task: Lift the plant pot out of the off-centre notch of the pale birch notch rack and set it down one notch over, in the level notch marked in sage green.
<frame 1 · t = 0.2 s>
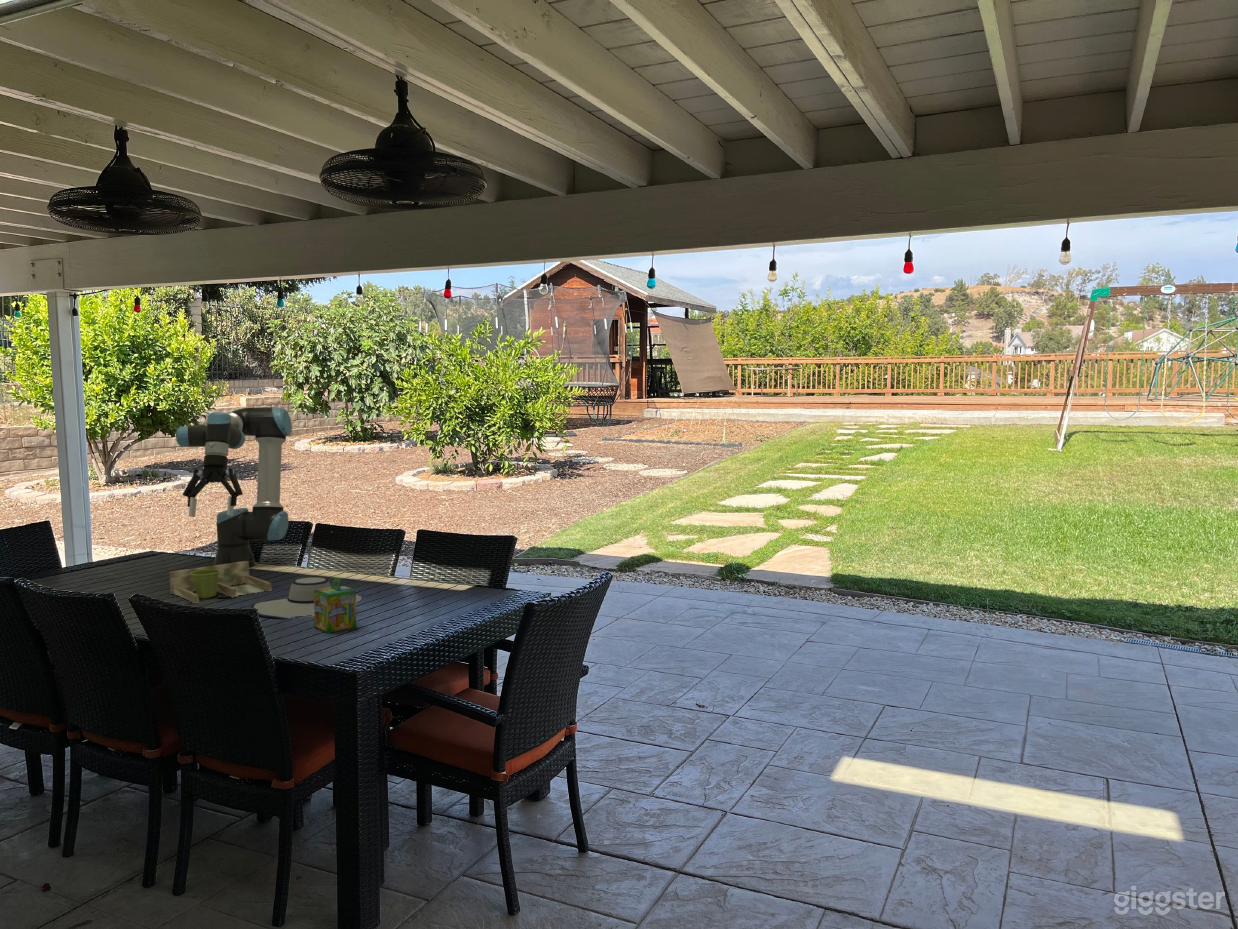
hand: (210, 516, 297), 27 cm above the table, tool tilted 15°, fingers open, 13 cm apart
plant pot: (206, 597, 296), resting in notch rack
chalk box: (335, 628, 255), on the table
notch rack: (224, 593, 300), on the table
sun hat: (311, 607, 283), on the table
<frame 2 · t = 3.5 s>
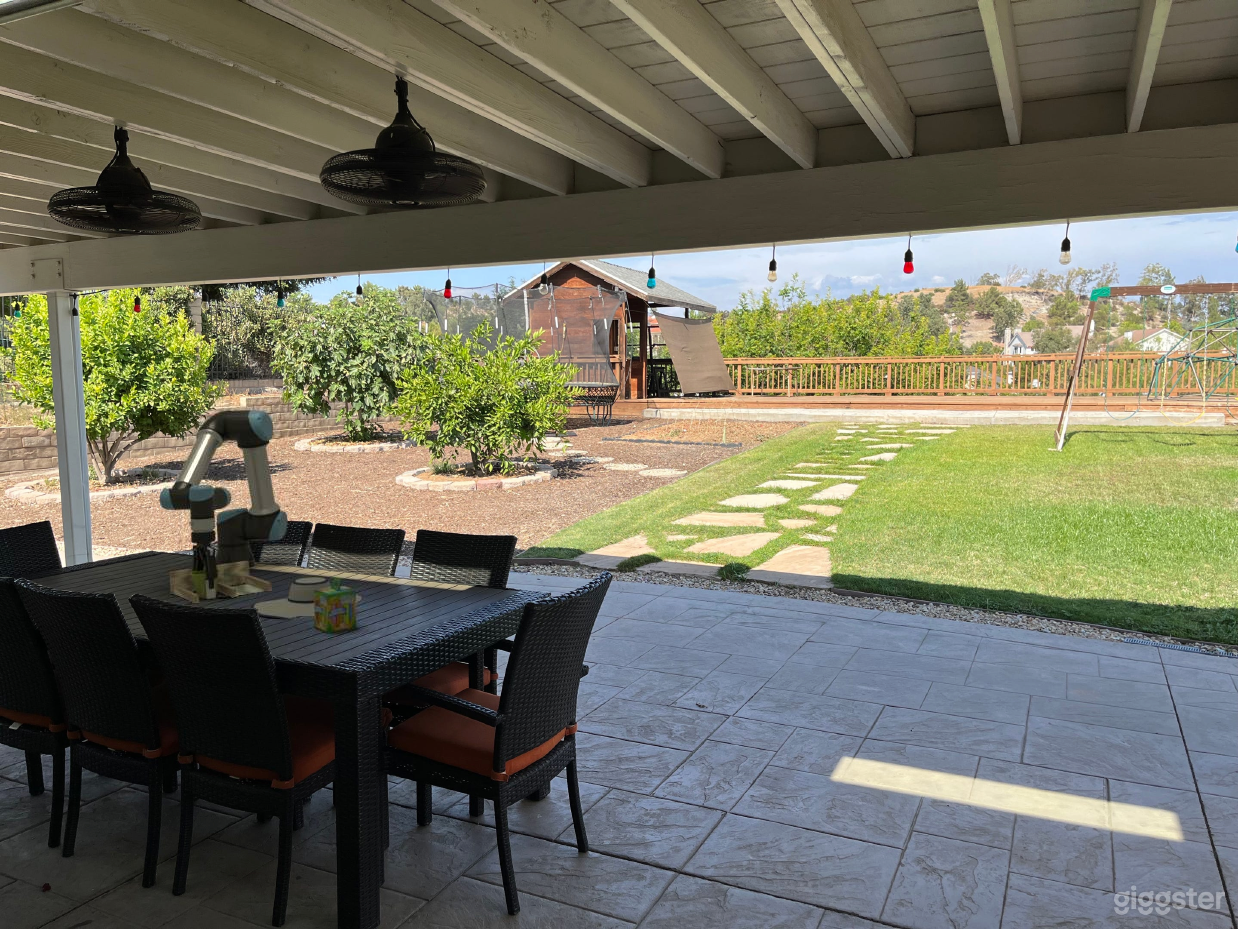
hand: (205, 596, 295), 0 cm above the table, tool pointing down, fingers open, 8 cm apart
plant pot: (206, 597, 296), resting in notch rack, touching gripper
everything else where it was.
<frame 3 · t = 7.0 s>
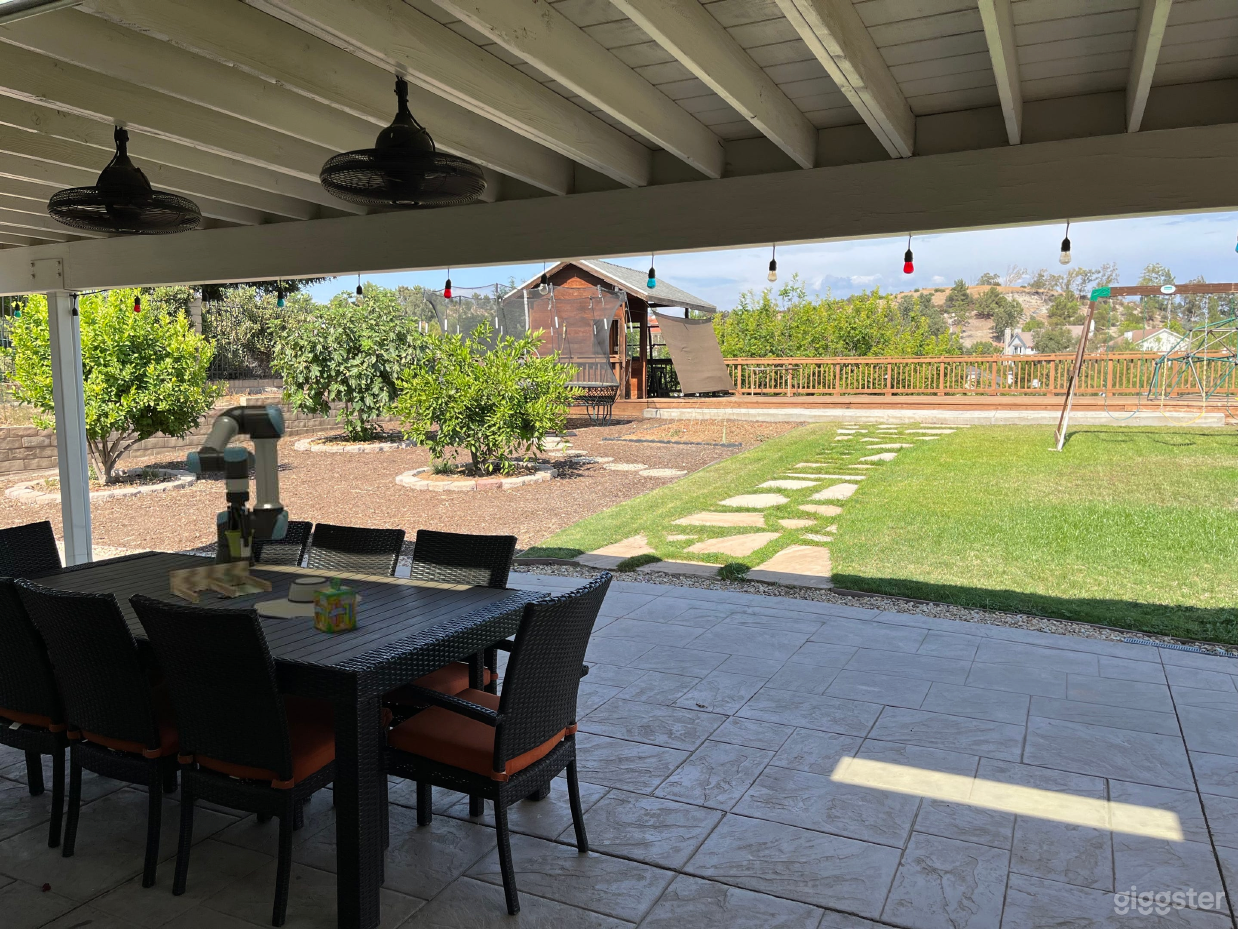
hand: (240, 554, 303), 13 cm above the table, tool pointing down, fingers closed on plant pot, 8 cm apart
plant pot: (240, 556, 303), point 12 cm above the table, touching gripper
everything else where it was.
when the fingers open (2 cm above the table, at t = 9.8 s): plant pot moves 4 cm, resting on notch rack.
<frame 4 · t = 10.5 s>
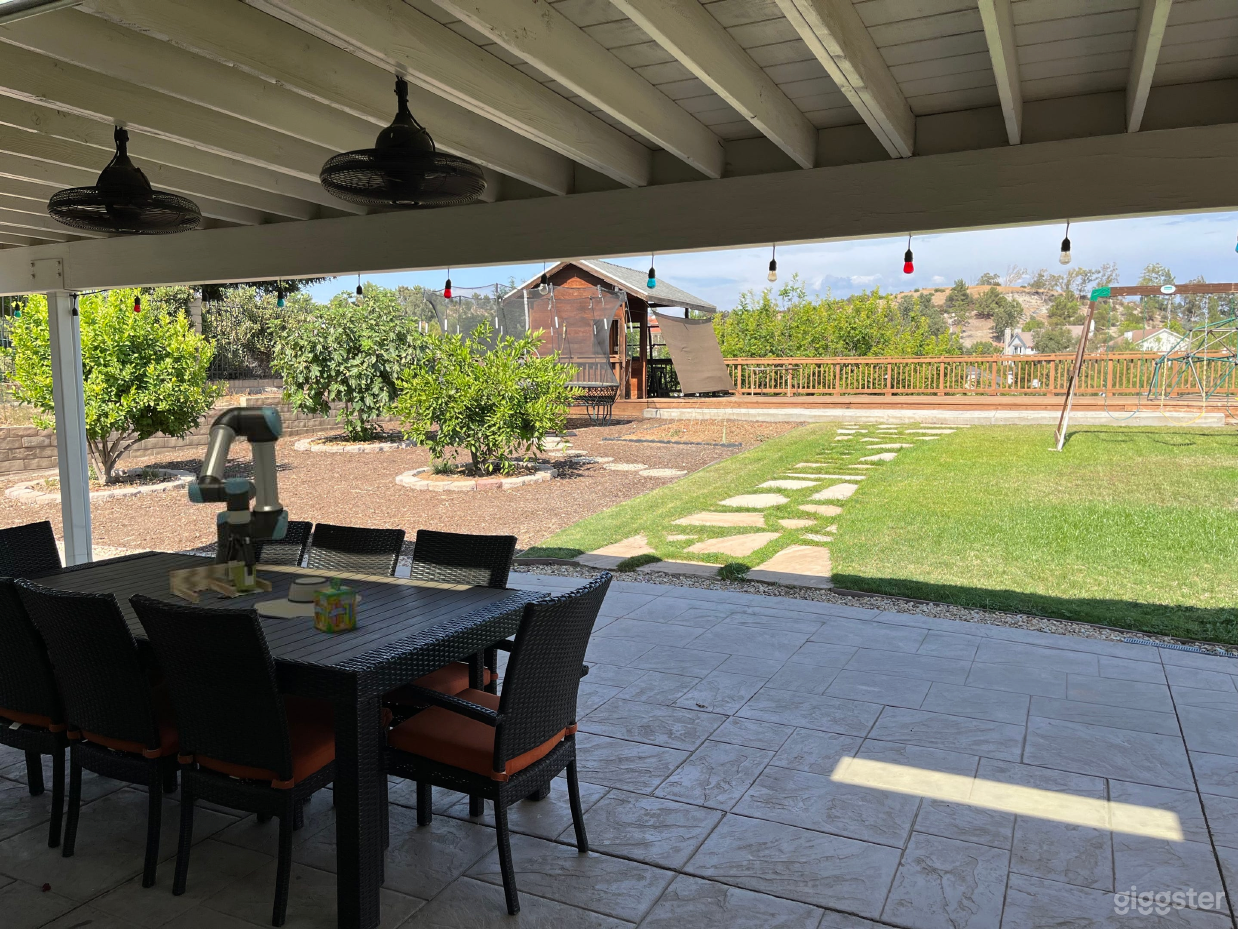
hand: (241, 581, 304), 3 cm above the table, tool pointing down, fingers open, 13 cm apart
plant pot: (246, 590, 302), point 1 cm above the table, touching gripper, notch rack
everything else where it was.
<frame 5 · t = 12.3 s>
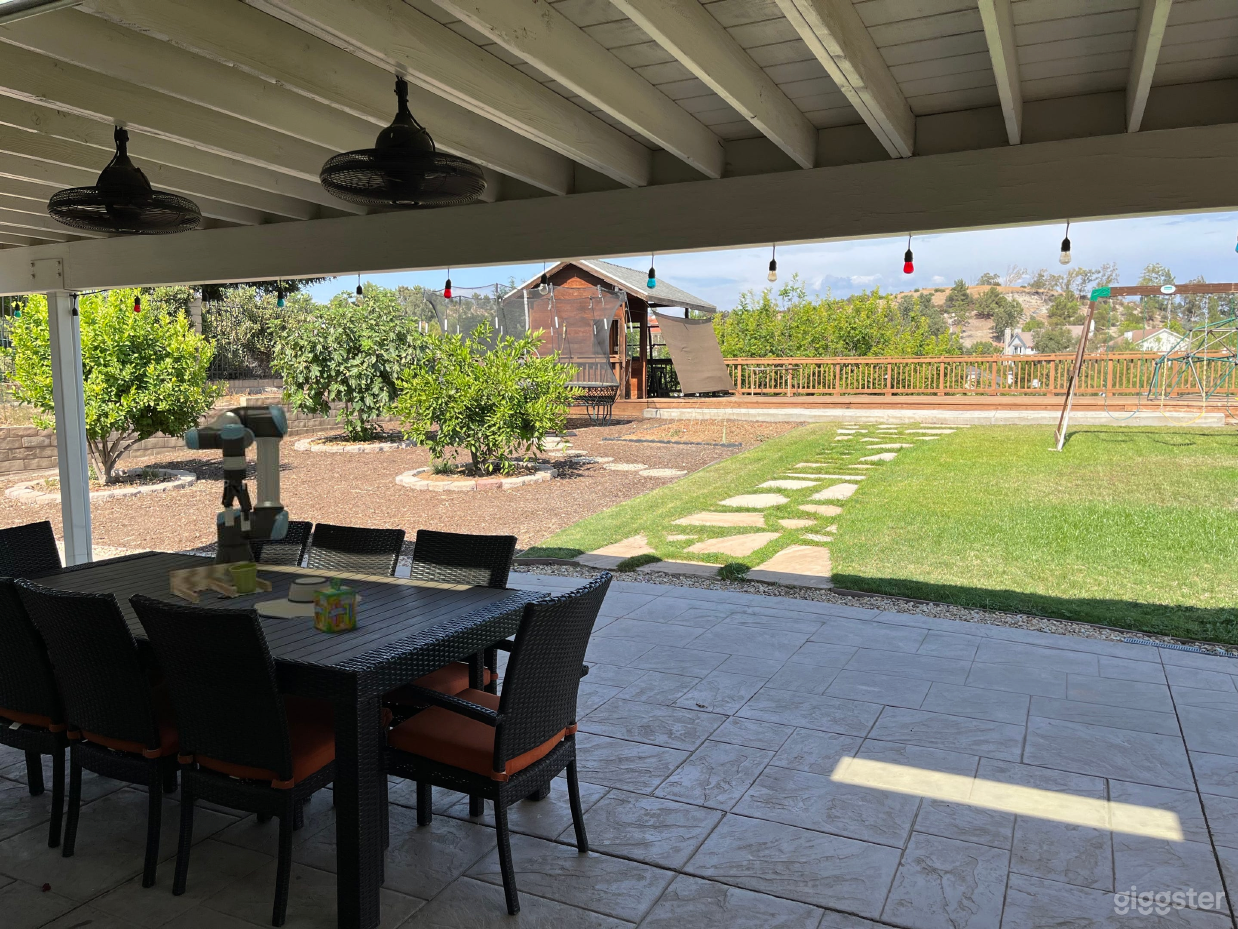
hand: (237, 527, 306), 22 cm above the table, tool pointing down, fingers open, 13 cm apart
plant pot: (246, 591, 302), resting on notch rack
everything else where it was.
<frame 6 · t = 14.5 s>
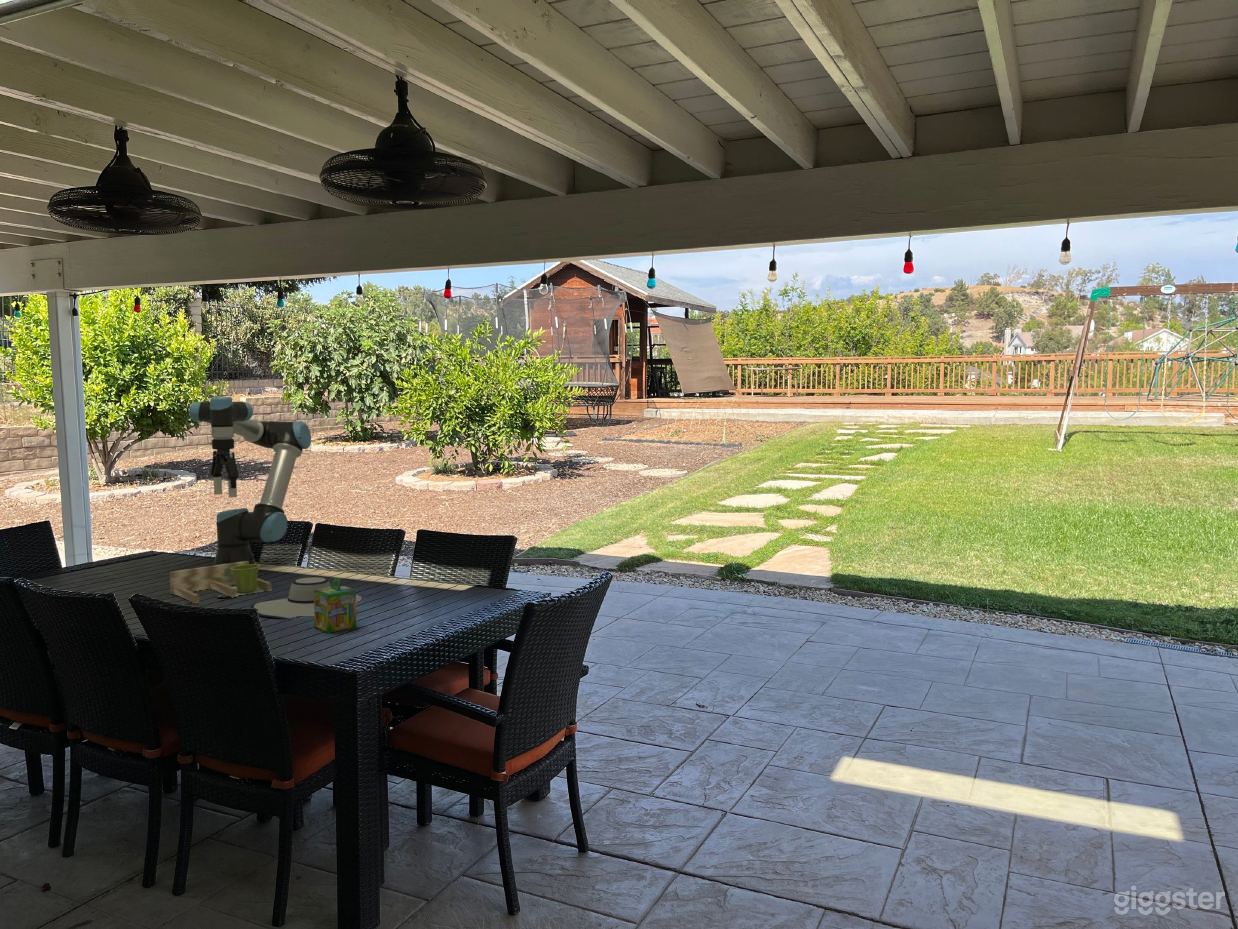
hand: (225, 495, 319), 32 cm above the table, tool pointing down, fingers open, 13 cm apart
at the end: plant pot 3.5 cm from the target spot, resting on notch rack; plant pot tilted 1°; the gripper is holding nothing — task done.
